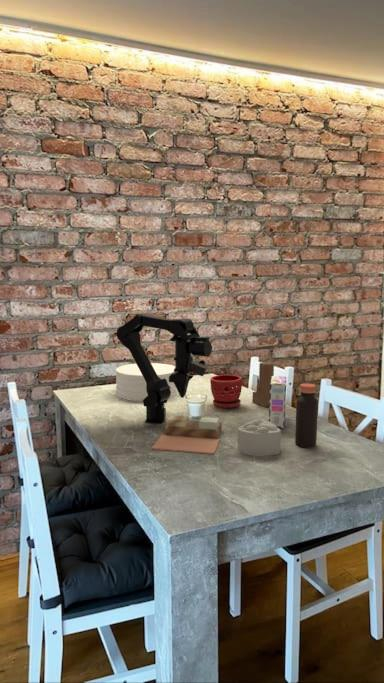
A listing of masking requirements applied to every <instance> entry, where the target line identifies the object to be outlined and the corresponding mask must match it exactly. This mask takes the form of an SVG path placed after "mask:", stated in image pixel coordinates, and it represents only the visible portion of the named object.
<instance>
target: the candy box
mask: <svg viewBox="0 0 384 683" xmlns="http://www.w3.org/2000/svg"><path fill="white" fill-rule="evenodd" d="M286 397H287V376H281V375H274V376H272V378H271V383H270V401H269V406H268V407H269V409H268V422H271V423H272V424H275V425H276V427H277V428H279V429H285V424H286Z"/></svg>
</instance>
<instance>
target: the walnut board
mask: <svg viewBox="0 0 384 683" xmlns="http://www.w3.org/2000/svg"><path fill="white" fill-rule="evenodd" d="M199 421H200V420H193V419H191V420H189V419H188V424H187V425H186V427H185V428H184V427H170V426H168V424H167V425H166V426H165V430H164V432H165V433H164V435H170V436H184V437H197V438H210V439H219V436H220V435H221V432H222V426H223V425H222V424H223V423H222V422H221V421H219V426H218V428H217V430H212V429H199Z"/></svg>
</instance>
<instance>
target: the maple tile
mask: <svg viewBox="0 0 384 683" xmlns="http://www.w3.org/2000/svg"><path fill="white" fill-rule="evenodd" d="M188 420H189V416H187V415H173V414H172V415H170V416H169V417H168V418H167V425H168V426H170V427H184V428H185V427H186V425H187V424H188Z"/></svg>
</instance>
